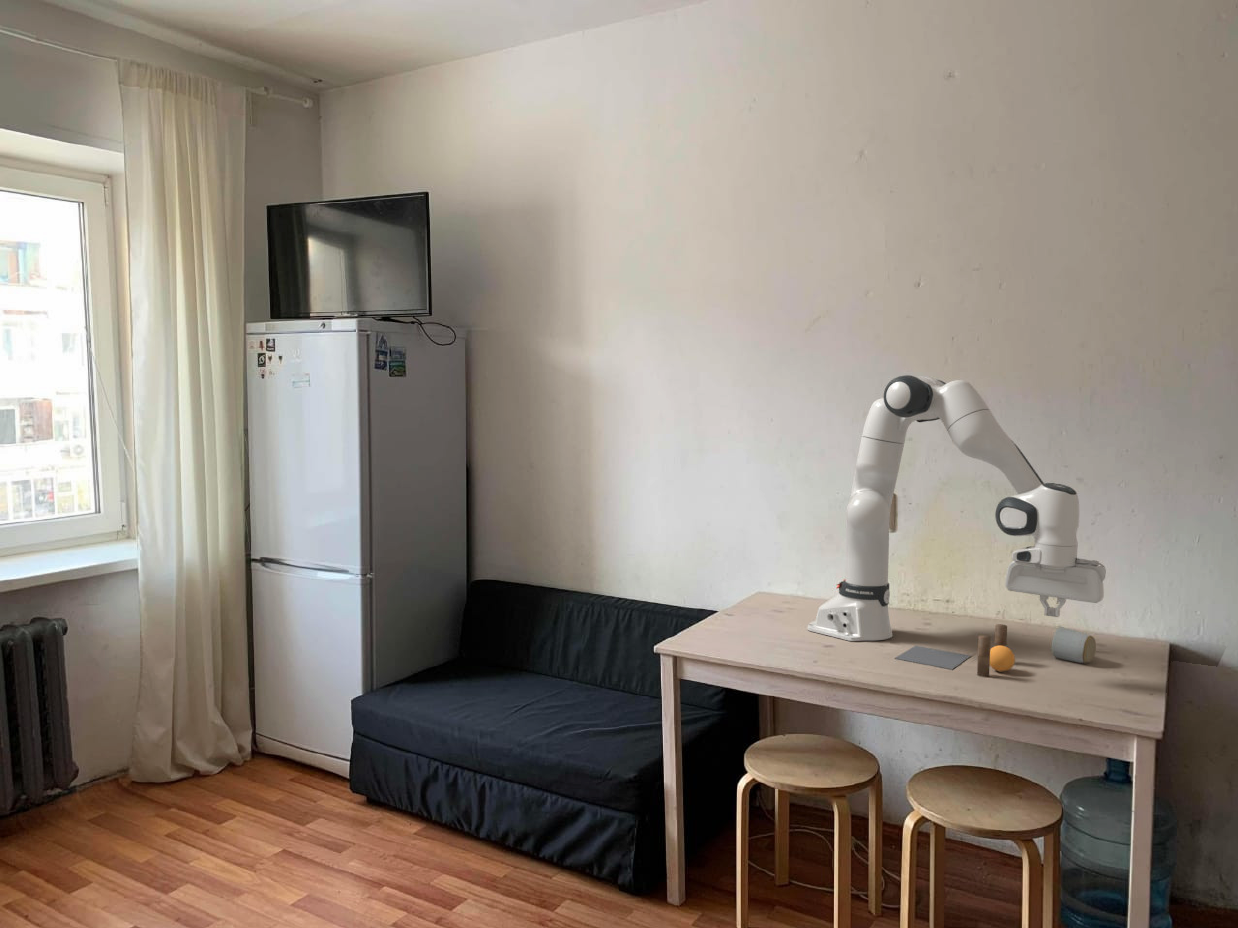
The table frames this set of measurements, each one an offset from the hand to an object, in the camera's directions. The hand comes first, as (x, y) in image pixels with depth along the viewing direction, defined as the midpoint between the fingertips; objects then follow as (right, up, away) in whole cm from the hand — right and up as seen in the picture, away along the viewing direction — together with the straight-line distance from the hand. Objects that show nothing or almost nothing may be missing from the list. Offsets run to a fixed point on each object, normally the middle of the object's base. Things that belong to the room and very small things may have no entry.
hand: (1051, 615), depth 211 cm
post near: (-14, -14, +4) cm, 21 cm away
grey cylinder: (+14, -14, +17) cm, 26 cm away
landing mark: (-21, -13, +18) cm, 31 cm away
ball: (-9, -11, +7) cm, 16 cm away
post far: (-6, -14, +14) cm, 21 cm away
